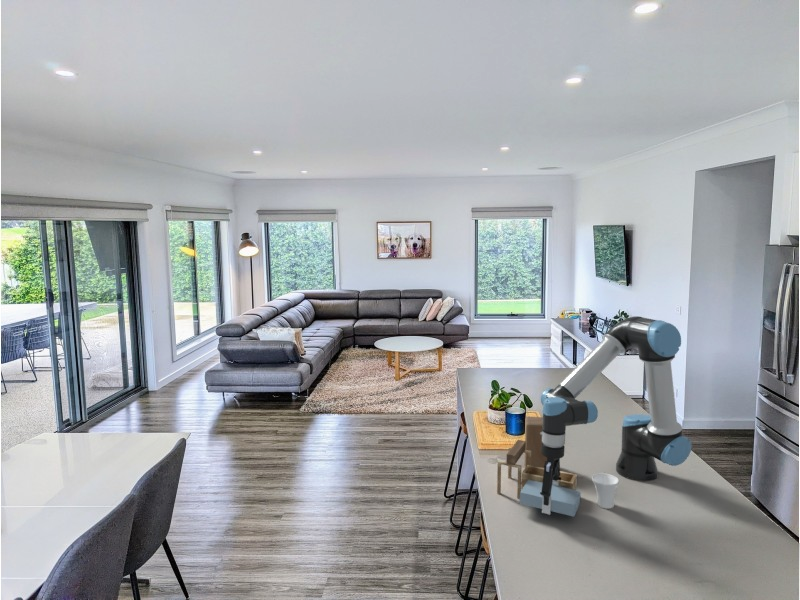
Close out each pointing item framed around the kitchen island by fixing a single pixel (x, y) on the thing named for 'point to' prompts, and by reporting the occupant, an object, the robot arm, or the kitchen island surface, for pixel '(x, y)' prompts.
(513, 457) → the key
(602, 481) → the cup
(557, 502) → the lid
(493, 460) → the kitchen island surface
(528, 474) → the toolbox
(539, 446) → the wooden block
